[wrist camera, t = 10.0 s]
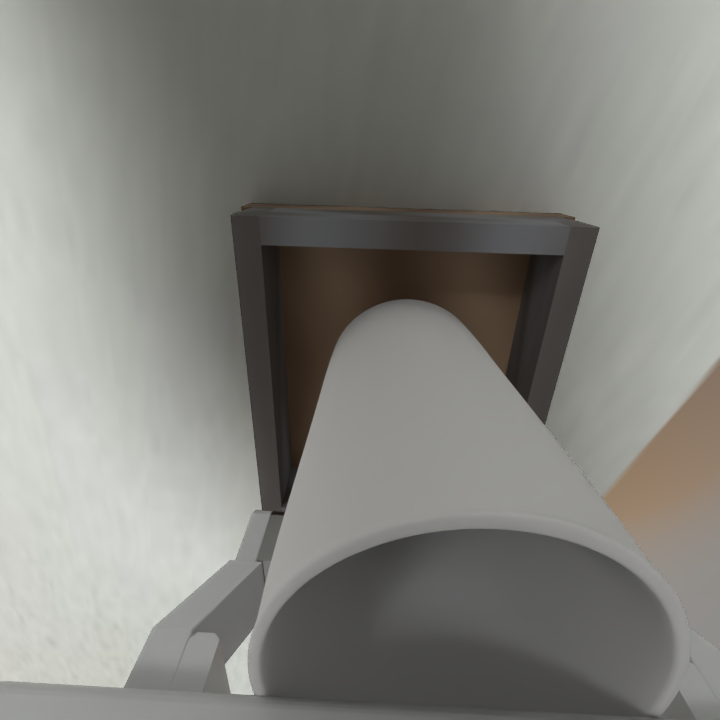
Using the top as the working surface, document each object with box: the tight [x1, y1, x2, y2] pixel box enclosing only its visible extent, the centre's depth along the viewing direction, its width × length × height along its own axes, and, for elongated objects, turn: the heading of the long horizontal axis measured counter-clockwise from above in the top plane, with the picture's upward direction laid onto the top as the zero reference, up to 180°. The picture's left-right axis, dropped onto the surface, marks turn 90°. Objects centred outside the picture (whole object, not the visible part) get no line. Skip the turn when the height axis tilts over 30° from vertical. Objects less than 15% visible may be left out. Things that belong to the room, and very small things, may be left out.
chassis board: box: [231, 203, 599, 512], centre depth 21 cm, size 14×22×4 cm, turn 178°
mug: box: [248, 299, 691, 718], centre depth 12 cm, size 10×7×12 cm, turn 161°
